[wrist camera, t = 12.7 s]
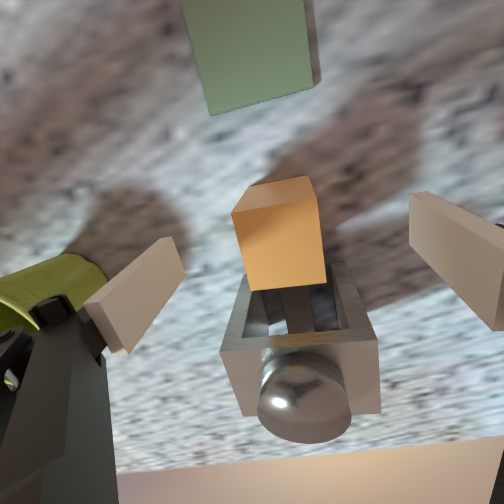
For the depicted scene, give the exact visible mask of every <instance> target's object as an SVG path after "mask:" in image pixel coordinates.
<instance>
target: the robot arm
mask: <svg viewBox="0 0 504 504" xmlns="http://www.w3.org/2000/svg"><path fill="white" fill-rule="evenodd" d="M409 245H410V246H411V247H412V248H413V249H414V250H415V251H416V252H417V253H418V254H419V255H420V256H421V257H422V258H423V259H424V261H425V262H426V263H427V264H428V265H429V266H430V267H431V268H432V269H433V270H434V271H435V272H436V273H437V274H438V275H439V276H440V277H441V278H442V279H443V280H444V281H445V282H446V283H447V284H448V285H449V286H450V288H451V289H452V290H453V291H454V292H455V293H456V294H457V295H458V296H459V297H460V298H461V299H462V300H463V301H464V302H465V303H466V304H467V305H468V306H469V307H470V308H471V309H472V310H473V311H474V312H475V313H476V314H477V316H478V317H479V318H480V319H481V320H482V321H483V322H484V323H485V324H486V325H487V326H488V327H489V328H490V329H491V330H492V331H504V225H502V224H493V223H491V222H489V221H487V220H485V219H482V218H480V217H478V216H476V215H474V214H472V213H470V212H468V211H466V210H464V209H462V208H460V207H458V206H456V205H454V204H452V203H450V202H448V201H446V200H444V199H442V198H440V197H438V196H436V195H434V194H432V193H430V192H428V191H424V192H418V193H412V194H410V195H409ZM185 276H186V273H185V270H184V268H183V265H182V262H181V260H180V257H179V254H178V252H177V249H176V247H175V244H174V241H173V239H172V236H169V237H164V238H160V239H159V240H157V241H156V242H155V243H154V244H153V245H152V246H150V247H149V248H148V249H147V250H146V251H144V252H143V253H142V254H141V255H140V256H139V257H137V258H136V259H135V260H134V261H133V262H131V263H130V264H129V265H128V266H127V267H126V268H124V269H123V270H122V271H121V272H120V273H118V274H117V275H116V276H115V277H114V278H112V279H111V280H110V281H109V282H108V283H107V284H105V285H104V286H103V287H102V288H101V289H99V290H98V291H97V292H96V293H95V294H94V295H92V296H91V297H90V298H89V299H88V300H86V301H85V302H84V303H83V307H82V308H81V309H80V310H78V311H77V312H76V310H75V308H74V307H73V305H72V303H71V302H70V300H69V299H68V297H67V295H66V294H57V295H54V296H51V297H48V298H46V299H44V300H42V301H40V302H39V303H37V304H35V305H34V306H33V307H31V308H30V309H29V310H28V313H29V314H30V316H31V317H32V319H33V320H34V321H35V323H36V324H37V326H38V327H39V332H36V333H33V334H30V335H29V333H28V332H27V330H26V329H25V328H24V326H15V327H12V328H10V329H5V330H3V331H1V332H0V504H119V501H118V490H117V480H116V468H115V457H114V446H113V435H112V425H111V414H110V403H109V392H108V381H107V370H106V359H105V358H104V356H103V354H102V353H101V352H102V351H103V350H104V348H105V347H106V346H108V348H109V350H110V351H111V353H112V355H113V356H124V355H129V354H130V353H131V351H132V350H133V349H134V347H135V346H136V344H137V343H138V342H139V340H140V339H141V337H142V336H143V335H144V333H145V332H146V330H147V329H148V328H149V326H150V325H151V323H152V322H153V321H154V319H155V318H156V317H157V315H158V314H159V312H160V311H161V310H162V308H163V307H164V305H165V304H166V303H167V301H168V300H169V298H170V297H171V296H172V294H173V293H174V291H175V290H176V289H177V287H178V286H179V285H180V283H181V282H182V280H183V279H184V278H185ZM4 376H6V377H7V378H8V379H9V380H10V382H11V383H12V384H13V385H14V388H13V389H12V391H11V390H10V389H9V388H8V387H7V385H6V383H5V377H4ZM489 504H504V451H503V454H502V458H501V462H500V466H499V469H498V473H497V476H496V480H495V484H494V488H493V492H492V495H491V499H490V503H489Z"/></svg>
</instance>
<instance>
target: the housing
mask: <svg viewBox="0 0 504 504" xmlns="http://www.w3.org/2000/svg"><path fill="white" fill-rule="evenodd" d="M331 271H332V279H333V288H334V296H335V304H336V312H337V320H338V324H339V328H340V330H333V331H321V332H309V333H298V334H286V335H274V336H268V334H269V323H268V319H267V315H266V311H265V307H264V303H263V299H262V295H261V292H260V290H256V291H251V290H250V286H249V282H248V278H247V275H245V276H243V278H242V281H241V284H240V287H239V291H238V294H237V297H236V300H235V303H234V307H233V310H232V313H231V316H230V319H229V323H228V326H227V329H226V332H225V335H224V339H223V342H222V345H221V348H220V351H219V352H220V355H221V358H222V361H223V363H224V366H225V369H226V371H227V374H228V377H229V379H230V382H231V385H232V388H233V390H234V393H235V396H236V398H237V401H238V404H239V406H240V409H241V412H242V415H243V416H258V418H259V420H260V422H261V423H262V424H263V426H264V427H265V428H266V429H267V430H268V431H270V432H271V433H273V434H274V435H276V436H278V437H280V438H282V439H285V440H288V441H292V442H297V443H305V444H315V443H322V442H327V441H330V440H333V439H335V438H337V437H339V436H340V435H342V434H343V433H344V432H345V431H346V430H347V429H348V427H349V425H350V423H351V414H381V398H380V377H379V357H378V340H377V337H376V335H375V332H374V330H373V327H372V325H371V323H370V320H369V318H368V315H367V313H366V311H365V308H364V306H363V303H362V301H361V298H360V296H359V294H358V291H357V289H356V286H355V284H354V281H353V279H352V277H351V274H350V272H349V269H348V267H347V264H346V262H339V263H332V264H331Z"/></svg>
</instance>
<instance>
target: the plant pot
mask: <svg viewBox="0 0 504 504" xmlns="http://www.w3.org/2000/svg"><path fill="white" fill-rule="evenodd" d="M107 283H108V282H107V279H106V277H105V275H104V274H103V272H102V271H101V270H100V268H99V267H98V266H97V265H95V264H93V263H90V262H88V261H86V260H85V259H84V258H83V257H82V256H80V255H76V254H62V255H59V256H56V257H54V258H51V259H49V260H46V261H43V262H41V263H38V264H36V265H33V266H31V267H28V268H26V269H23V270H20V271H18V272H15V273H13V274H10V275H8V276H5V277H2V278H0V332H1V331H3V330H5V329H10V328H12V327H15V326H24V328H25V329H26V330H27V332H28V333H29V335H30V334H33V333H36V332H39V327H38V326H37V324H36V323H35V321H34V320H33V319H32V317H31V316H30V314H29V313H28V310H29V309H30V308H31V307H33V306H34V305H35V304H37V303H39V302H40V301H42V300H44V299H46V298H48V297H51V296H54V295H57V294H66V295H67V297H68V299H69V300H70V302H71V303H72V305H73V307H74V308H75V310H76V312H77V311H78V310H80V309H81V308H82V307H83V303H84V302H85V301H86V300H88V299H89V298H90V297H91V296H92V295H94V294H95V293H96V292H97V291H98V290H99V289H101V288H102V287H103V286H104V285H105V284H107ZM4 377H5V383H7V384H10V385H13V384H12V383H11V382H10V380H9V379H8V378H7V377H6V376H4Z"/></svg>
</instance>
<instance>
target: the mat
mask: <svg viewBox="0 0 504 504" xmlns="http://www.w3.org/2000/svg"><path fill="white" fill-rule="evenodd" d="M180 3H181V7H182V11H183V15H184V18H185V22H186V26H187V30H188V34H189V37H190V41H191V45H192V49H193V53H194V56H195V60H196V64H197V68H198V72H199V75H200V79H201V83H202V87H203V91H204V94H205V98H206V102H207V106H208V110H209V113H210V116H213V115H217V114H221V113H224V112H228V111H231V110H235V109H239V108H242V107H246V106H249V105H253V104H256V103H260V102H264V101H267V100H271V99H274V98H278V97H281V96H285V95H289V94H292V93H296V92H299V91H303V90H307V89H310V88H313V87H314V86H313V78H312V69H311V61H310V52H309V44H308V35H307V26H306V18H305V9H304V1H303V0H180Z"/></svg>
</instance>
